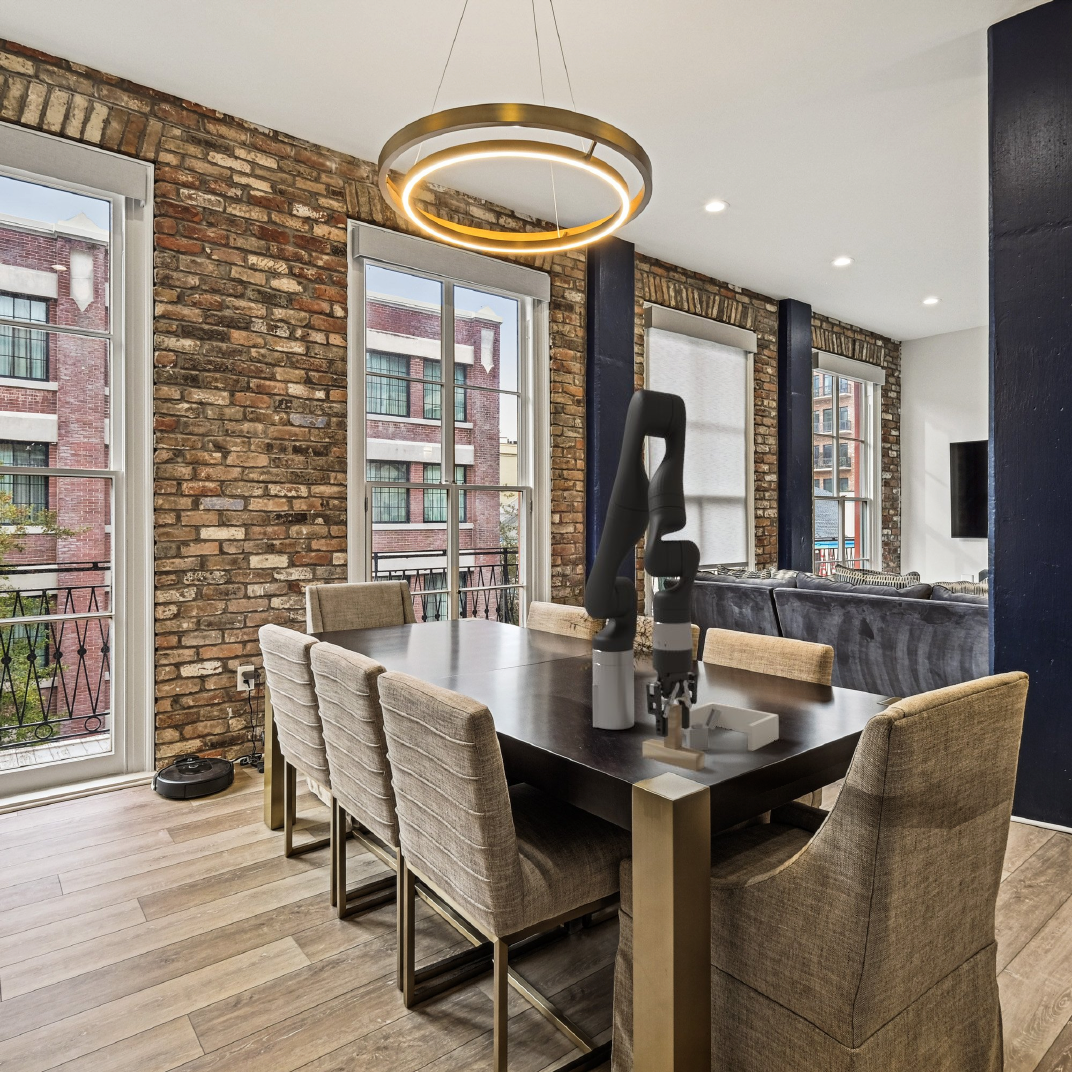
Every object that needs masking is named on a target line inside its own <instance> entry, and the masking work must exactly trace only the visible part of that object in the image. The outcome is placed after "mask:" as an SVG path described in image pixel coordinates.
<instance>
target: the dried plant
mask: <svg viewBox="0 0 1072 1072" xmlns="http://www.w3.org/2000/svg"><path fill="white" fill-rule="evenodd" d="M559 580H560V579H559V578H558V579H557V581H558V582H559ZM559 583H560V582H559ZM564 586H565V584H563V585H562V583H560V588H561V589H563V590H565V589H564ZM566 593H567V594H566ZM566 593H565V596H570V597H572V598H573V599H571V601H572V602H577V603H579V600H578V598H579V597H580V596H581V593H580V594H579V595H578V597H577V596H576V595H575V596H572V593H571V592H570V591H569V592H567V591H566ZM640 600H643V597H641V599H640ZM580 605H581V606H582V608H584V609H585V605H582V603H580ZM642 606H643V604H640V608H641V610H643V609H642ZM637 613H639V611H637ZM580 614H581V611H580V613H578V614H577V615H576V617H577V616H579V617H580V618H579V619H580V621H578V620H576V621H573V622H571V619H569V620H566V619H563V618H560V619H559V621H560V623H561V620H563V622H569V623H570V626H569V628H570V629H571V628H572V624H573V632H574V631H575V632H576V629H577V626H579V627H582V628H585V629H588V630H589V634H592V632H591V631H593V632H594V633H593V634H592V636H591V637H594V635H595V634H597V633H598V632H600V631H601V630H603V629H604V628H605V627H606V625H607V624H606V623H608V621H609V620H607V619H593V618H591V617H590V616H589V615H588V614H587V618H585V614H586V612H583V614H582V615H580ZM641 616H643V617H644V619H643V621H642V620H641V617H639V615H637V628H640V629H639V630H638V629H637V632H636V637H635V638H638V637H640V638H639V639H641V641H639V640H637V639H635V640H634V648H633V649H634V659H636V660H635V663H636V666H638V662H640V659H641V662H644V661H645V663H647V664H648V662H649V660H651V661H653V655H652V638H651V639H650V638H649V637H652V630H653V624H652V621H653V620H649V617H648V616H649V613H645V612H641ZM589 618H590V619H591V620H588V619H589ZM582 619H584V620H583V623H582V626H581V625H580V624H578V623H581V622H582V621H581V620H582ZM587 621H588V622H590V623H592V624H596V625H599V626H600V627H602V628H600V629H599V631H598V630H593V629H591V628H588V627H587V625H586V624H585V623H587ZM640 623H642V626H641V624H640ZM584 624H585V626H583V625H584ZM647 625H648V628H646V627H647ZM640 626H641V627H640ZM643 627H644V628H643ZM650 628H651V629H650ZM642 629H643V631H642ZM649 629H650V630H649ZM648 633H649V635H648ZM643 638H645V640H644V639H643ZM648 643H649V644H648ZM635 645H636V646H635ZM590 651H593V648H590V650H586V651H585V652H586V654H588V655H589V653H588V652H590ZM651 656H652V657H651ZM591 664H593V661H592V662H586V664H583V666H579V668H578V670H583V667H585V670H587V669H588V667H590V666H591ZM636 666H635V665H634V670H636V669H637V668H636Z"/></svg>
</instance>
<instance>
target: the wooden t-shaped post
mask: <svg viewBox="0 0 1072 1072" xmlns="http://www.w3.org/2000/svg"><path fill="white" fill-rule="evenodd" d="M667 717H668V736H667V737H663V741H662V740H658V739H653V738H650V739H648V740H644V741H642V758H644V757H646V758H645V759H648V758H649V759H648V760H652V759H654V760H653V761H655V760H656V762H659V763H663V764H667V765H670V766H675V767H677V766H678V768H682V769H686V770H688V769H689V770H690V771H692V770H693V771H692V772H698V771H700V770H702V769H704V767H705V766H706V765H705V763H706V762H705V761H706V759H705V758H706V757H705V753H706V752H705V751H703V750H699V751H698V750H694V749H690V748H686V746H683V740H682V739H683V737H682V736H683V735H682V734H683V732H682V731H683V728H682V705H678V704H677V703H673V706H671V707H670V709H669V712H668V716H667Z"/></svg>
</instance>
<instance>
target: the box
mask: <svg viewBox="0 0 1072 1072" xmlns="http://www.w3.org/2000/svg"><path fill="white" fill-rule="evenodd" d="M712 707H713V708H715V709H718V710H720V711H721V714H720V717H719V719H718V722H717V724H716V726H717V727H716V726H715V727H716V728H721V727H722V728H721V729H725V728H726V730H730V729H732V730H731V731H734V732H740V733H745V734H747V750H748V751H751V752H753V751H755V750H758V749H760V748H763V747H764V746H766V745H768V744H770V743H773V742H774V740H775V741H778V739H779V725H780V724H779V723H780V722H779V714H777V713H771V712H767V711H766V712H765V711H761V710H755V709H750V708H745V707H739V706H735V705H728V704H723V703H719V702H713V701H710V702H707V703H704V704H701V705H699V706H696V707H692V708H691V709H690V723H689V727H691V725H692V723H697V722H701V723H702V726H705V723H706V720H707V718H708V716H709V713H710V711H711V708H712ZM683 735H684V736H686V729H683Z"/></svg>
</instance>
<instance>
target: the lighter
mask: <svg viewBox="0 0 1072 1072" xmlns="http://www.w3.org/2000/svg"><path fill="white" fill-rule="evenodd" d="M720 714H721V711H720V710H718V709H715V708H713V707H712V708H711V711H710V713H709V716H708V718H707V720H706V723H705V726H702V723H701V722H697V723H692V725H691V727H689V728H688V729H686V735H685V737H686V738H685V740H686V741H685V742H686V744H685V745H686V746H685V747H686V748H690V749H694V750H698V751H706V750H709V730H712V731H714V730H715V728H716V724H717V722H718V719H719V717H720Z"/></svg>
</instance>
